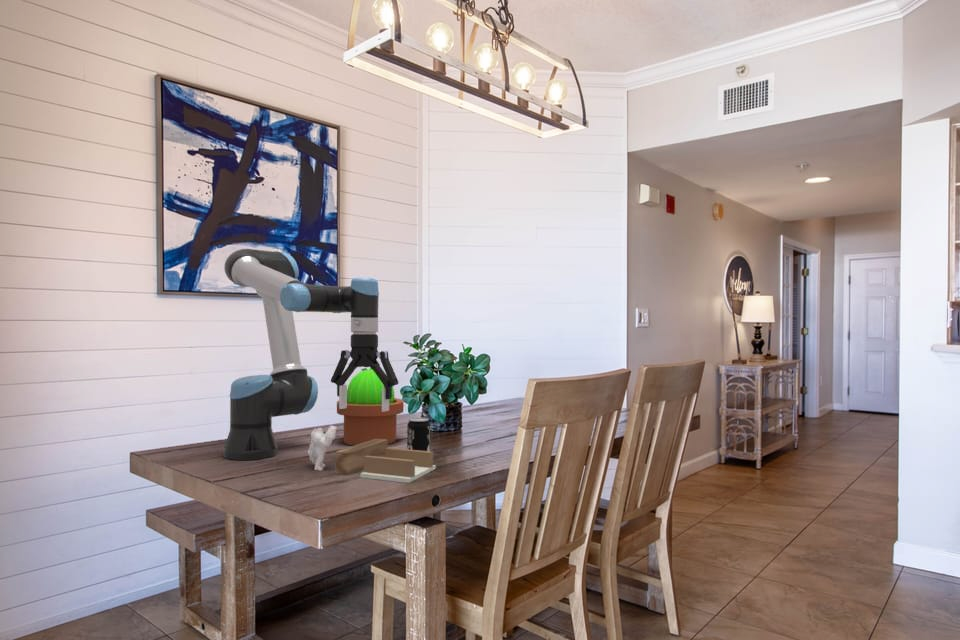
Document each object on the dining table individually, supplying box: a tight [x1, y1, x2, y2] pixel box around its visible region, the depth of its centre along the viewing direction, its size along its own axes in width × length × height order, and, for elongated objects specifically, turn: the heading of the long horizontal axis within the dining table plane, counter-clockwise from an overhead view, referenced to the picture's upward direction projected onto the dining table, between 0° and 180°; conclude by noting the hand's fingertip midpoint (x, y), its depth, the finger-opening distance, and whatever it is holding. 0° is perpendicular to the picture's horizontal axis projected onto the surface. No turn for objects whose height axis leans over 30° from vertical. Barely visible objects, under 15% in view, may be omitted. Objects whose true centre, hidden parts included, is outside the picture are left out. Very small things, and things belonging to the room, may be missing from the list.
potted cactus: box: [336, 367, 405, 446], centre depth 204 cm, size 22×22×25 cm
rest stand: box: [359, 447, 437, 484], centre depth 162 cm, size 14×16×5 cm
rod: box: [335, 439, 389, 476], centre depth 169 cm, size 4×20×6 cm, turn 158°
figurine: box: [307, 425, 338, 472], centre depth 166 cm, size 10×5×12 cm, turn 52°
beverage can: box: [406, 417, 431, 452], centre depth 177 cm, size 7×7×12 cm
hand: (363, 409), depth 169 cm, fingers open, 13 cm apart
